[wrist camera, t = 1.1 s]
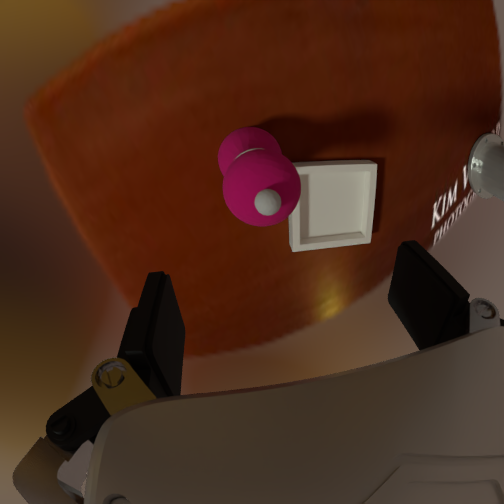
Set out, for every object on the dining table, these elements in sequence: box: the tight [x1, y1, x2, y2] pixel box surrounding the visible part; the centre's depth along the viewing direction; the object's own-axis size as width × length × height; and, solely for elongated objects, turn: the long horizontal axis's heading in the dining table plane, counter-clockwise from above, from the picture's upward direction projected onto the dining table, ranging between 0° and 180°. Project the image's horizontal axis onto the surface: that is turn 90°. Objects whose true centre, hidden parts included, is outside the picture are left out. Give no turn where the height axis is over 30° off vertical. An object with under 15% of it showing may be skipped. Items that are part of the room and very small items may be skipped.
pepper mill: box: [218, 127, 301, 226], centre depth 27 cm, size 7×7×20 cm
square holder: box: [289, 160, 377, 252], centre depth 39 cm, size 12×12×2 cm
